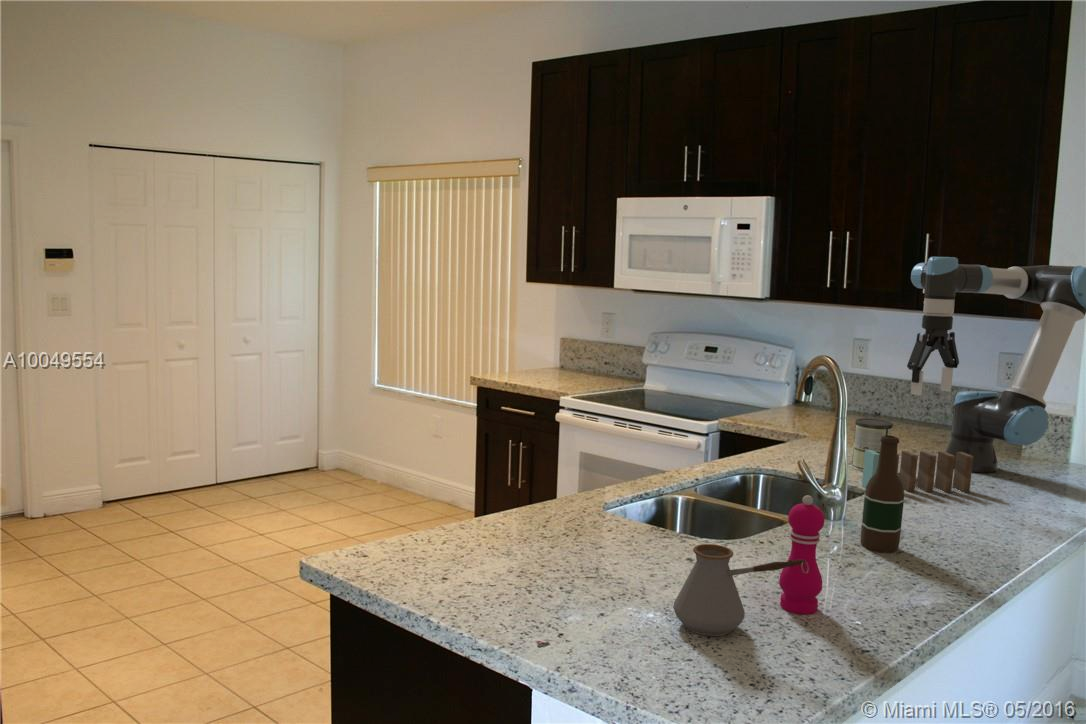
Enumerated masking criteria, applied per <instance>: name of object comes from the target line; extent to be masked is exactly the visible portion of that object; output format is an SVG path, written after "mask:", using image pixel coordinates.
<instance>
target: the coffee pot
mask: <svg viewBox="0 0 1086 724" xmlns="http://www.w3.org/2000/svg"><path fill="white" fill-rule="evenodd" d="M692 551H693V553H694V554H695V560H696V561H695V563H694V565H693V566H692V568H691V570H690V572H689V574H688V575H687V578H686V579H685V581H684V583H683V586H682V587H681V589H680V591H679V593H678V594H677V596H676V598H675V600H674V603H673V605H672V606H673V607H672V608H673V610H674V613H675V615H676V616H675V617H676V618H677V619H678V620H679V621H680V622H681V624H683V625H684V627H685V628H686V629H687V630H688V631H690V632H693V633H696V634H698V635H702V636H707V637H720V636H721V637H722V636H725V635H726V636H727V635H728V634H730V633H731V632H732V631H733V630H735V629H736V628H737V627H739V626H740V625H741V624H742V622H743V621H744V619H745V615H746V612H745V608H744V606H743V602H742V600H741V597H740V594H739V591H738V589H737V586H736V582H735V580H734V577H733V576H737V575H743V574H748V573H759V572H760V573H761V572H771V571H779V570H782V569H783V568H785V567H788V566H789V567H790V568H792V567H793V566H794V565H801V568H802V571H803V572H804V570H803V564H805V563H806V564H807V568H808V569H807V572H804V573H808V571H809V566H808V563H807V562H806V561H805V560H796V561H792V560H789V561H788V562H787V561H772V562H769V563H764V564H760V565H759V564H758V565H755V566H751V567H743V568H742V567H741V568H734V569H730V568H731V567H730V565H729V563H730V560H731V558H732V557H733V556H734V551H733V550H732V549H731V548H728V547H726V546H723V545H720V544H714V543H712V544H710V543H703V544H697V545H695V546H694V547H693V548H692Z"/></svg>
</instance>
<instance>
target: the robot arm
mask: <svg viewBox="0 0 1086 724" xmlns="http://www.w3.org/2000/svg"><path fill="white" fill-rule="evenodd" d="M910 281H911V283H912V285H913V286H914V287H915V288H917V289H922V290H924V296H923V297H924V299H923V300H924V301H923V313H924V314H923V315H922V322H921V327H922V329H924V330H925V332H924V333H923V332H918V333H917V334H916V340H915V343H914V347H913V348H912V351H911V353H910V355H909V356H910V357H909V359H908V363H907V365H906V367H907V368H908V370H911V371H912V372H911V386H910V395H914V396H922V393H923V385H924V384H923V383H924V382H923V381H924V371H923V370H922V369H924V367H925V365H926V363H927V361H928V359H929V357H930V356H931V353H932V352H935V351H936V350H937V351H938V353H939V356H940V358H941V360H942V362H943V365H944V366H942V369H941V377H940V378H941V381H940V388H939V390H940V391H942V392H947V393H951V392H952V385H953V373H954V369H957V368H958V366H959V365H960V359H959V356H958V350H957V345H956V340H955V339H956V334H955V332H954V331H951V330H953V322H954V317H953V316H952V315H954V312H955V299H956V293H972V294H989V295H1001V296H1002V295H1003V296H1005V298H1007V299H1010V300H1011V299H1012V300H1020V301H1025V302H1030V303H1033V304H1038V305H1039V307H1041V309H1042V311H1043V312H1042V314H1041V317H1040V319H1039V322H1038V324H1037V326H1036V328H1035V331H1034V333H1033V336H1032V338H1031V340H1030V343H1029V345H1028V347H1027V349H1026V352H1025V354H1024V356H1023V358H1022V362H1021V364H1020V366H1019V368H1018V370H1017V373H1016V374H1015V377H1014V379H1013V383H1012V385H1011V386H1010V387H1008V388H1005V389H1003V391H1002V393H1001V395H1000V394H999V392H997V391H986V390H985V391H982V390H975V391H974V390H973V391H972V390H971V391H970V390H968V391H967V390H964V391H959V392H957V394H956V395H955V399H954V403H953V411H952V424H951V432H950V440H949V442H948V444H947V446H946V448H945V450H944V452H947V453H949V454H951V455H954V456H955V460H956V452H964V453H966V454H969V455H971V456H973V464H972V473H983V472H988V473H995V472H997V471H998V463H999V462H998V459H997V455H996V451H995V446H994V445H995V444H994V441H995V439H996V440H999V441H1002V442H1008V443H1010V444H1011V445H1021V446H1030V445H1032V444H1034V443H1037V442H1038V441H1039V440H1040V439H1042V438H1043V436H1044V435H1045V433H1046V432H1047V429H1048V428H1049V423H1050V421H1049V418H1050V417H1049V414H1048V412H1047V410H1046V407H1047V404H1046V401H1045V399H1044V396H1045V394H1046V391H1047V390H1048V388H1049V385H1050V382H1051V380H1052V378H1053V376H1054V373H1055V371H1056V368H1057V366H1058V364H1059V361H1060V359H1061V358H1062V354H1063V352H1064V350H1065V347H1066V345H1067V344H1068V342H1069V338H1070V336H1071V334H1072V331H1073V328H1074V327H1075V325H1076V322H1077V321H1081V320H1083V319H1085V316H1086V266H1085V267H1084V266H1081V265H1075V266H1072V265H1050V264H1049V265H1047V264H1046V265H1045V264H1043V265H1032V266H1030V265H1028V266H1011V267H1008V268H1001V267H1000V268H998V267H988V266H987V265H982V264H981V265H980V264H964V263H963V264H962V263H959V258H957V257H954V256H952V257H951V256H930V257H929V258H928V260H927V262H919V263H917V264H916V265H914V266H913V268H912V270H911V273H910ZM954 468H955V461H954ZM994 471H995V472H994Z"/></svg>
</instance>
